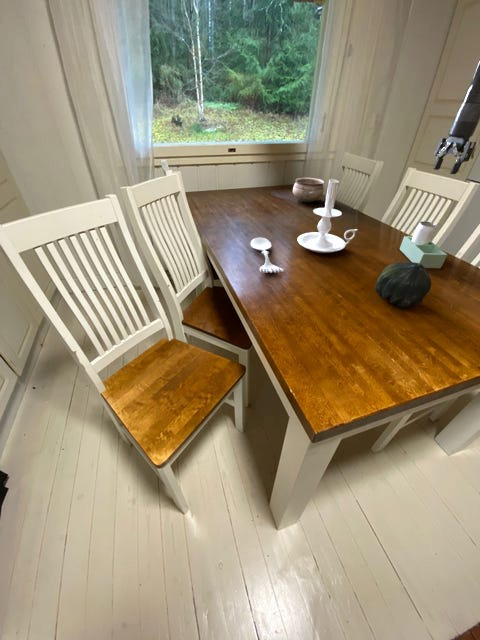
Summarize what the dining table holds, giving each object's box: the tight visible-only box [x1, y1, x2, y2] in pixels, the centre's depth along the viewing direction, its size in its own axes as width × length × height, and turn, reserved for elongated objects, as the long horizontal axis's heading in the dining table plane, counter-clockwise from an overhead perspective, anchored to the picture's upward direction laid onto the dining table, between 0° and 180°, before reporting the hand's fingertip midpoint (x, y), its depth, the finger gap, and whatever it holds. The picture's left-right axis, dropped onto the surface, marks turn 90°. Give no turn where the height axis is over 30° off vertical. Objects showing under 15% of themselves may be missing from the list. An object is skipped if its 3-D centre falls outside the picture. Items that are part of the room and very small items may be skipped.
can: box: [411, 220, 437, 245], centre depth 113 cm, size 6×6×12 cm
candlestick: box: [296, 178, 358, 254], centre depth 112 cm, size 21×25×28 cm
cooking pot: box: [292, 177, 325, 204], centre depth 172 cm, size 25×19×12 cm
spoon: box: [250, 237, 284, 274], centre depth 111 cm, size 9×32×4 cm, turn 5°
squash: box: [375, 261, 432, 309], centre depth 86 cm, size 14×15×15 cm
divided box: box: [399, 235, 448, 269], centre depth 112 cm, size 9×17×6 cm, turn 177°
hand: (444, 171), depth 105 cm, fingers open, 8 cm apart
